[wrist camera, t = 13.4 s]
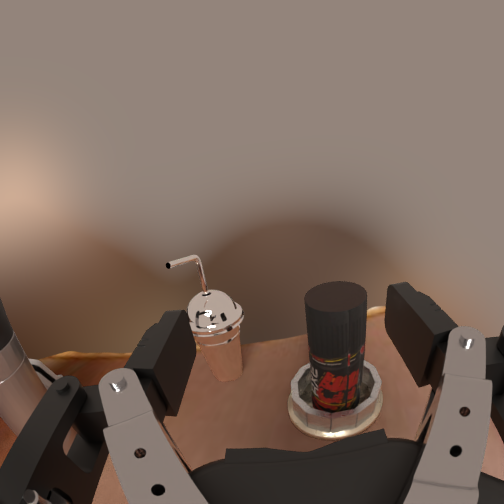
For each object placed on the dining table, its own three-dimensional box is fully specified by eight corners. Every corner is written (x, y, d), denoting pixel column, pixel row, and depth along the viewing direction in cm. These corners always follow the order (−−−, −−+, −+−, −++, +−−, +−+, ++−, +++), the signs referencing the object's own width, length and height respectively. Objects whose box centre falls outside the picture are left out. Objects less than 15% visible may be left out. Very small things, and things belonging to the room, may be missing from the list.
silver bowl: (290, 447, 24) (287, 430, 23) (286, 378, 36) (283, 359, 35) (393, 426, 23) (399, 407, 22) (368, 364, 35) (370, 344, 33)
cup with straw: (267, 370, 38) (243, 241, 32) (217, 402, 33) (172, 266, 27) (235, 348, 45) (208, 234, 39) (189, 373, 40) (149, 254, 34)
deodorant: (302, 403, 30) (291, 300, 25) (333, 377, 33) (330, 276, 29) (338, 425, 25) (342, 319, 21) (368, 395, 28) (378, 289, 24)
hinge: (67, 379, 39) (38, 348, 33) (66, 400, 35) (34, 371, 29) (12, 384, 35) (-16, 356, 29) (10, 402, 31) (-21, 375, 25)
